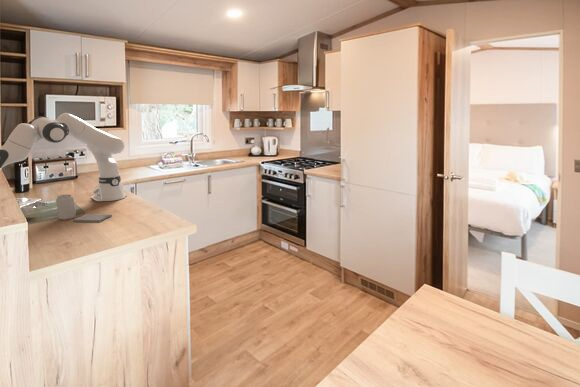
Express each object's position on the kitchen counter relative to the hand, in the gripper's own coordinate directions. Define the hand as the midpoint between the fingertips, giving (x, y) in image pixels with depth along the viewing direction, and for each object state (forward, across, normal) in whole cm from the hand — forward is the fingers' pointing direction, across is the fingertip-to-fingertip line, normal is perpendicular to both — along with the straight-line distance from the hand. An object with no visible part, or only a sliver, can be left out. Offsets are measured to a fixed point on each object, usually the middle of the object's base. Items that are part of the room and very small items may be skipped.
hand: (40, 206), depth 180 cm
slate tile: (+26, -3, +7) cm, 27 cm away
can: (+12, 0, +7) cm, 14 cm away
